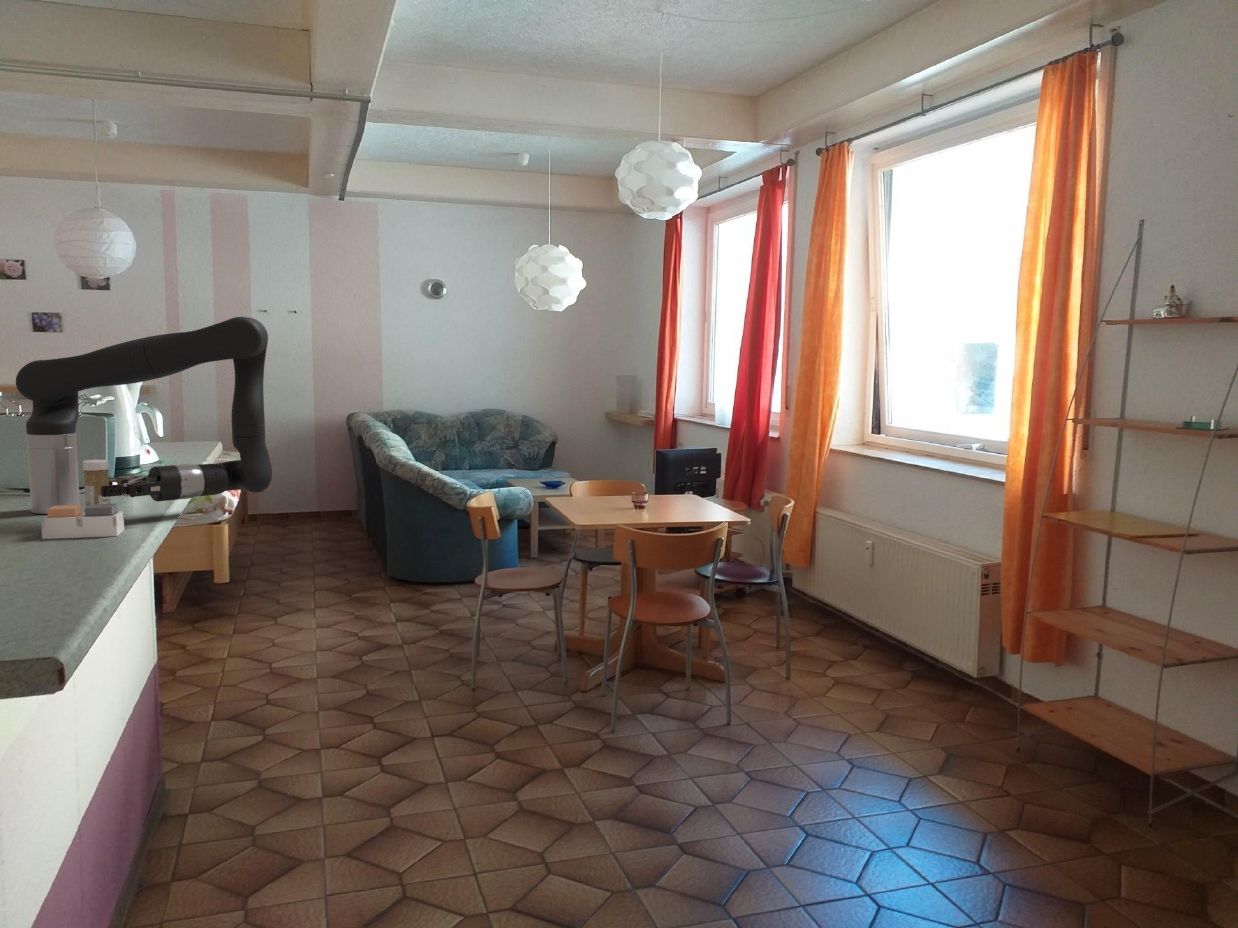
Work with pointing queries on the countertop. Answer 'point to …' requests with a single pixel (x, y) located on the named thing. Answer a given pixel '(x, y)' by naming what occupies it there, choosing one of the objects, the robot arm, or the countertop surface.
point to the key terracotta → (64, 511)
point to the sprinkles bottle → (95, 481)
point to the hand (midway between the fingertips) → (93, 489)
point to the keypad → (82, 526)
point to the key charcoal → (101, 510)
